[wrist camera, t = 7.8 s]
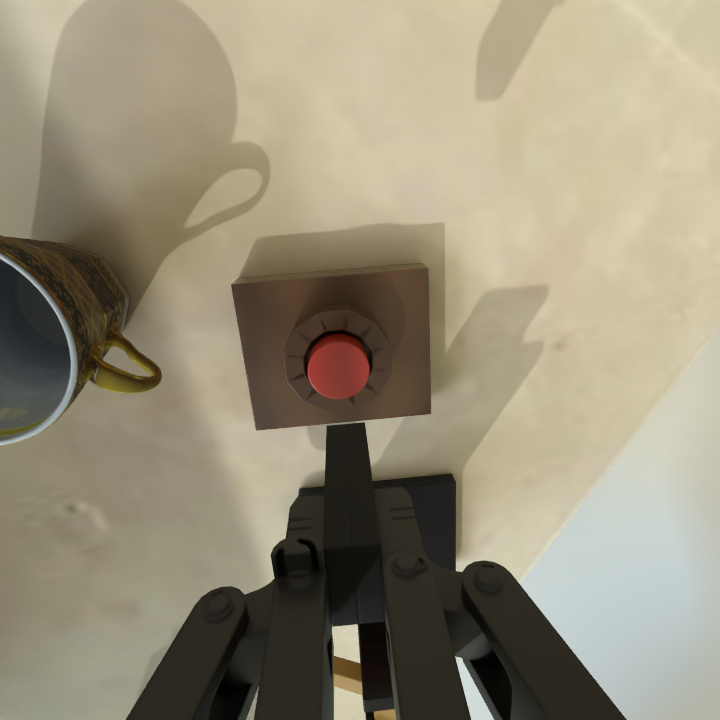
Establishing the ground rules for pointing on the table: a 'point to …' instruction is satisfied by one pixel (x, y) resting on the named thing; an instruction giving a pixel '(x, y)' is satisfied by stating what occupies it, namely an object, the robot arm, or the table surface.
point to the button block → (335, 316)
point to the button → (338, 366)
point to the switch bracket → (439, 543)
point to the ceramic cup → (58, 333)
